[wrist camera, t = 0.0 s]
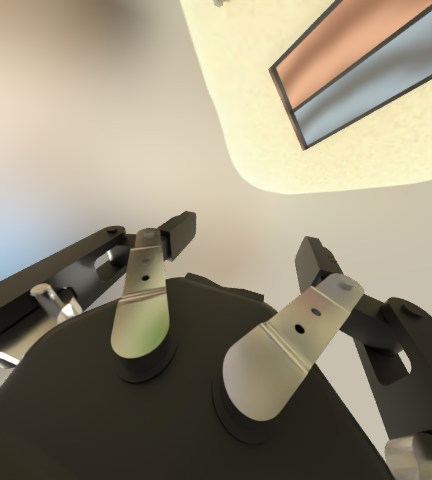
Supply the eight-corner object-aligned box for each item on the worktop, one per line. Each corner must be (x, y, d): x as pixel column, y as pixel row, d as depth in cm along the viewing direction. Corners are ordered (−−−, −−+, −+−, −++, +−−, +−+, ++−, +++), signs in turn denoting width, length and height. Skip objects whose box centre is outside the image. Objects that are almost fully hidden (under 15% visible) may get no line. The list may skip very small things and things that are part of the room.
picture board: (269, 68, 26) (268, 69, 25) (1042, -730, 6) (1138, -828, 5) (303, 149, 33) (303, 151, 32) (704, -80, 13) (726, -87, 12)
